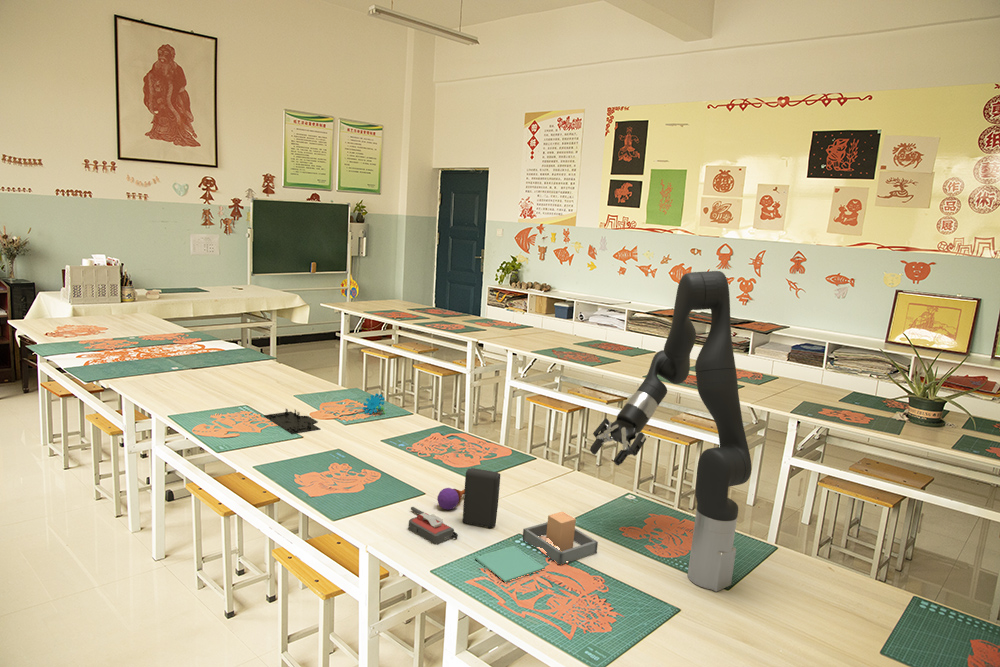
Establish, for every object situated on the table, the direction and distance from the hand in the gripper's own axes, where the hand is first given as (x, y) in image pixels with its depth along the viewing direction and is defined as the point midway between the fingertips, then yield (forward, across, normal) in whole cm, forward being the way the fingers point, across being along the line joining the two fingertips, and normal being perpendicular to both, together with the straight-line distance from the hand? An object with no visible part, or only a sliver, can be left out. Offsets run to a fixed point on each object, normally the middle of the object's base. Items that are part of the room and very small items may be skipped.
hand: (603, 458), depth 170 cm
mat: (+37, +1, -6) cm, 37 cm away
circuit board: (+43, -123, -10) cm, 131 cm away
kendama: (+30, -35, +2) cm, 46 cm away
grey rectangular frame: (+25, 0, +6) cm, 25 cm away
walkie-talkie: (+43, -25, -11) cm, 51 cm away
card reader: (+33, -20, -1) cm, 38 cm away
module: (+25, 0, +6) cm, 26 cm away
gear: (+19, -123, +13) cm, 125 cm away
